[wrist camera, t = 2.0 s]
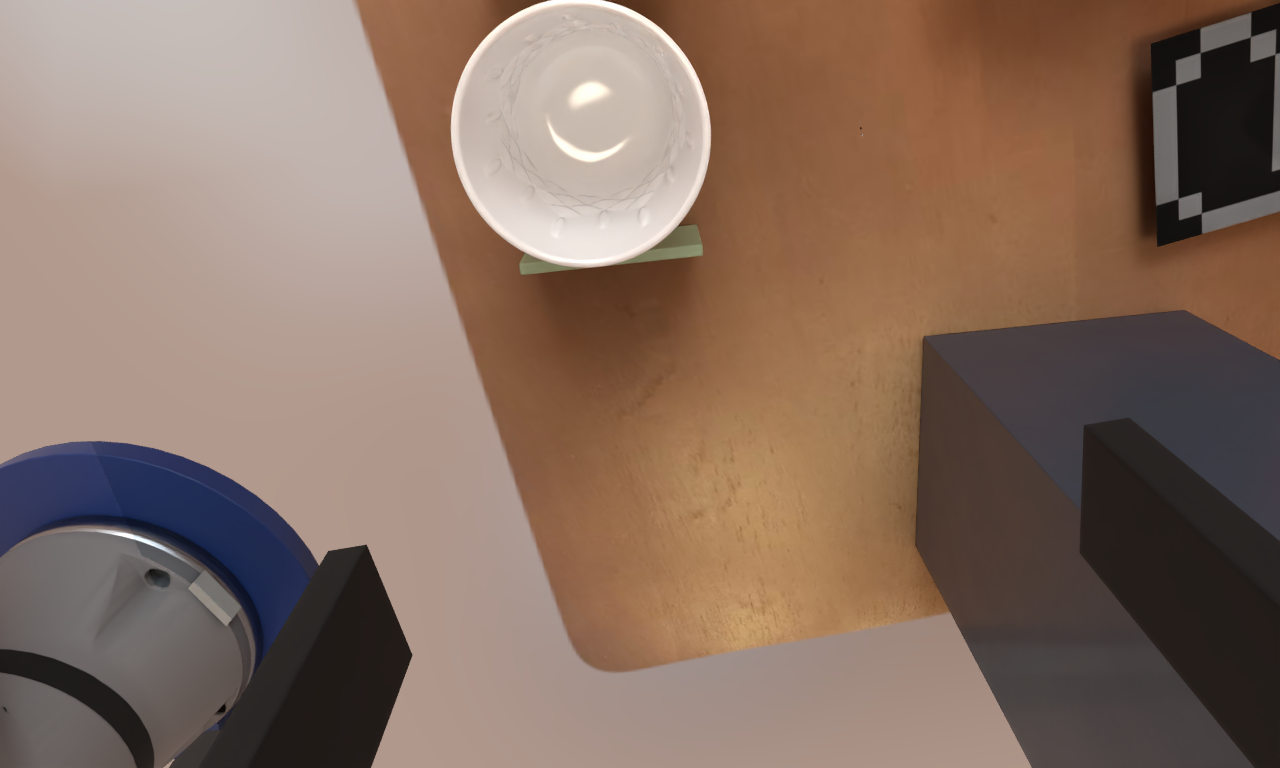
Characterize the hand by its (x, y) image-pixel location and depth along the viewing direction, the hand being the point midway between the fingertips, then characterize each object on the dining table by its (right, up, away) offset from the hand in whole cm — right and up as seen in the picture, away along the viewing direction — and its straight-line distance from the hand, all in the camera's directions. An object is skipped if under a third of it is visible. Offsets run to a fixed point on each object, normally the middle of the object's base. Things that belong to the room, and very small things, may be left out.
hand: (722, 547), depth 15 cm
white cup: (-3, +15, +19) cm, 24 cm away
